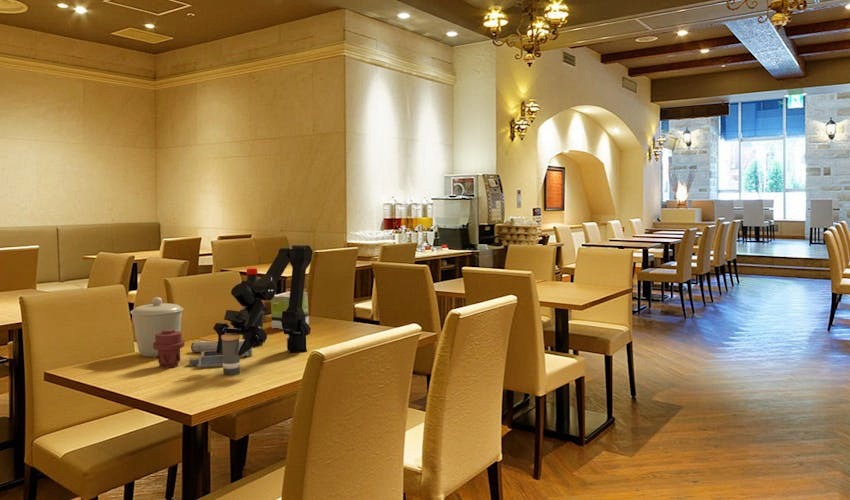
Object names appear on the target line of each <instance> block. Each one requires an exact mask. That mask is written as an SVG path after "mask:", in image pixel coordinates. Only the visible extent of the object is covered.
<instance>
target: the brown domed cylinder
mask: <svg viewBox="0 0 850 500" xmlns="http://www.w3.org/2000/svg"><path fill="white" fill-rule="evenodd" d="M221 339H222V350H223V366H222V375H223V376H229V377H230V376H231V377H232V376H236V375H240V373H241V370H240V369H241V368H240V367H241V364H240V362H241V361H240V356H239V355H238V352H239V340H240V335H239V334H235V333H231V334H224V335H222V336H221Z"/></svg>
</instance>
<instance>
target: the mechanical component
mask: <svg viewBox="0 0 850 500" xmlns="http://www.w3.org/2000/svg"><path fill="white" fill-rule="evenodd" d="M182 335H183V334H182V332H181V331H180V332H179V331H175V330H174V329H167V330H163V331H162V332H159V333H157V334H155V341H156V342H155V343H153V348H154V349H155V350H158V357H157V359H158V360H157V363H158V364H159V366H158V367H159V368H160V369H164V368H178V367H179V363H180V362H181V349H182V348H184V347H185V345H186V344H185V340H183V337H182Z"/></svg>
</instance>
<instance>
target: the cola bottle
mask: <svg viewBox="0 0 850 500" xmlns="http://www.w3.org/2000/svg"><path fill="white" fill-rule="evenodd" d="M246 275H247V277H246V280H245V281H248V283H249V284H250V286H251V287H252V286H253V285H254V284H255V282H256V281H257V280H258V276H257V275H258V268H256V267H249V268H246ZM261 301H262V302H263V303H264V301H265V300H261ZM264 304H265V303H264ZM244 307H245V306H241V310H243V309H244ZM264 318H265V312H264V311H262V312H261V314H260V316H259V317H258V319H257V321H258V322H259V323H258V325H254V326H260V327H261V328H262V329H263V330H264V328H263V327H264V326H263V325H264ZM241 336H242V340H245V335H241ZM264 343H265V342H261V344H258V345H256V346H255V347H259V346H261V345H263V344H264Z"/></svg>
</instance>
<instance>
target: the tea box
mask: <svg viewBox="0 0 850 500" xmlns="http://www.w3.org/2000/svg"><path fill="white" fill-rule="evenodd" d="M308 294H309V293H308V292H307V291H304V293H303V303H302V309H303V311H304V313H305V316H306V323H307V324H308V325H309V324H310V317H309V297H308V296H309V295H308ZM289 297H290V290H289V291H285V292H282V293H278V294H275V295H274V297H273V299H272V300H270V312H271V313H270V314H271V328H272V329H274V328H279V329H278V330H283V328H282V322H281V319H282V312H283V311H286V309H287V308H288V306H289Z"/></svg>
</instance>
